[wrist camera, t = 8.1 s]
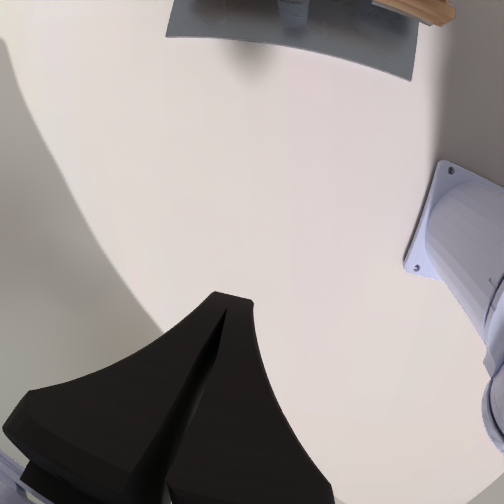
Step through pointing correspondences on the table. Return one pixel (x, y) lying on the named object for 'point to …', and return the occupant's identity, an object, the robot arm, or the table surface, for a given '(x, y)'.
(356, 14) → the pivot stand
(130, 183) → the table surface
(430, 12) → the balance beam
